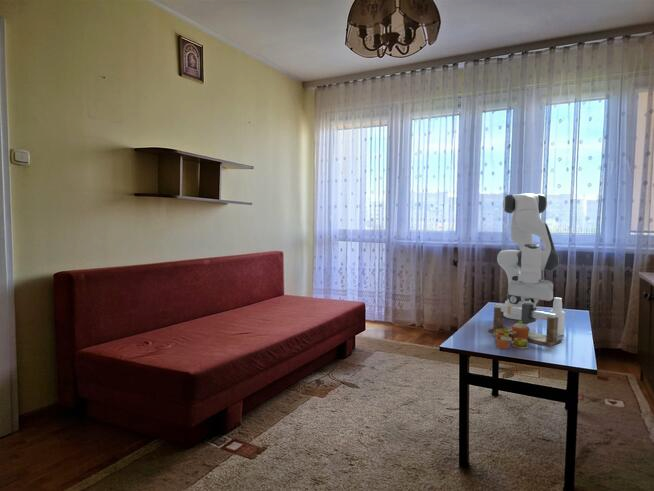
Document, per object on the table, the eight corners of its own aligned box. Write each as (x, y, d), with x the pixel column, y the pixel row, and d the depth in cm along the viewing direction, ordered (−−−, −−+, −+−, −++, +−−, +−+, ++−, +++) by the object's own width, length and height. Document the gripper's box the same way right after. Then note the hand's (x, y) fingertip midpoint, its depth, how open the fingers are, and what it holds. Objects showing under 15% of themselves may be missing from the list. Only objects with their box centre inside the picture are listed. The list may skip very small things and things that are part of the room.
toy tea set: (493, 334, 207) (494, 315, 206) (527, 338, 201) (528, 318, 200) (492, 349, 183) (493, 327, 182) (531, 354, 177) (532, 332, 176)
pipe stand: (488, 331, 210) (489, 304, 209) (500, 328, 218) (501, 301, 217) (549, 346, 187) (551, 316, 186) (561, 342, 194) (563, 312, 193)
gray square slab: (521, 323, 198) (522, 304, 198) (530, 320, 204) (531, 302, 203) (526, 324, 196) (527, 305, 196) (535, 321, 202) (536, 302, 201)
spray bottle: (551, 331, 213) (552, 296, 212) (565, 333, 208) (567, 298, 207) (546, 333, 209) (548, 297, 207) (561, 336, 204) (563, 299, 203)
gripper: (556, 280, 193) (555, 310, 194) (513, 275, 209) (512, 302, 209) (550, 281, 189) (548, 311, 190) (506, 276, 205) (505, 304, 206)
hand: (529, 307), depth 200 cm, fingers closed on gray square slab, 2 cm apart
